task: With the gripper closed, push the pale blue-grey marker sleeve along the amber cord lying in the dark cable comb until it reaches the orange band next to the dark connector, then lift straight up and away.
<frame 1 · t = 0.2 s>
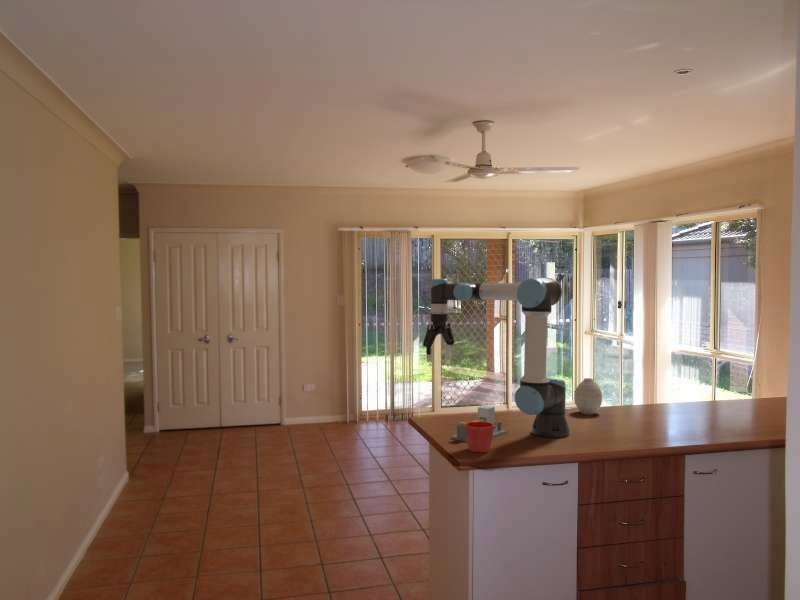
hand: (439, 360, 285), 28 cm above the worktop, fingers open, 13 cm apart
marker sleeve: (486, 416, 265), point 7 cm above the worktop, slide at 0.0 cm
flower pot: (479, 450, 238), on the worktop
cable comb: (479, 435, 260), on the worktop
vase: (587, 413, 305), on the worktop
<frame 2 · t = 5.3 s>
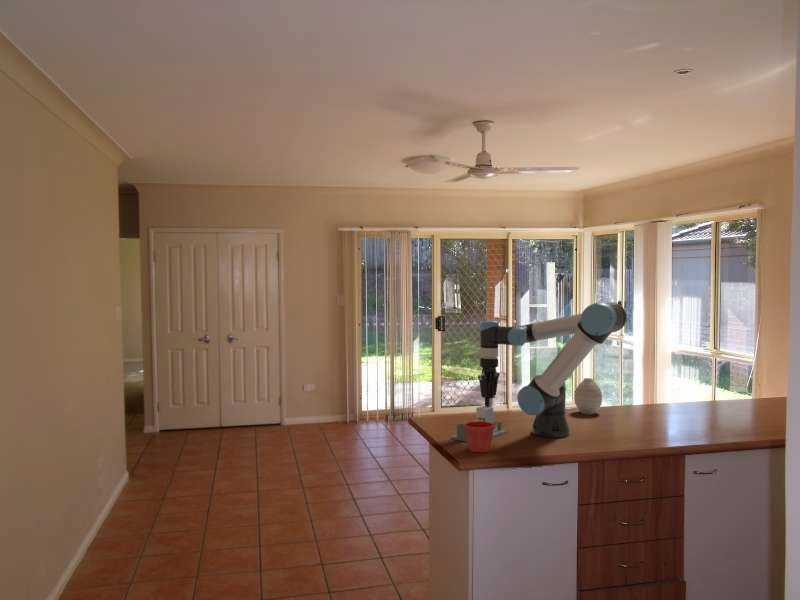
hand: (488, 413, 267), 8 cm above the worktop, fingers closed
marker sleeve: (484, 417, 264), point 7 cm above the worktop, slide at 1.1 cm, touching gripper
everything else where it was.
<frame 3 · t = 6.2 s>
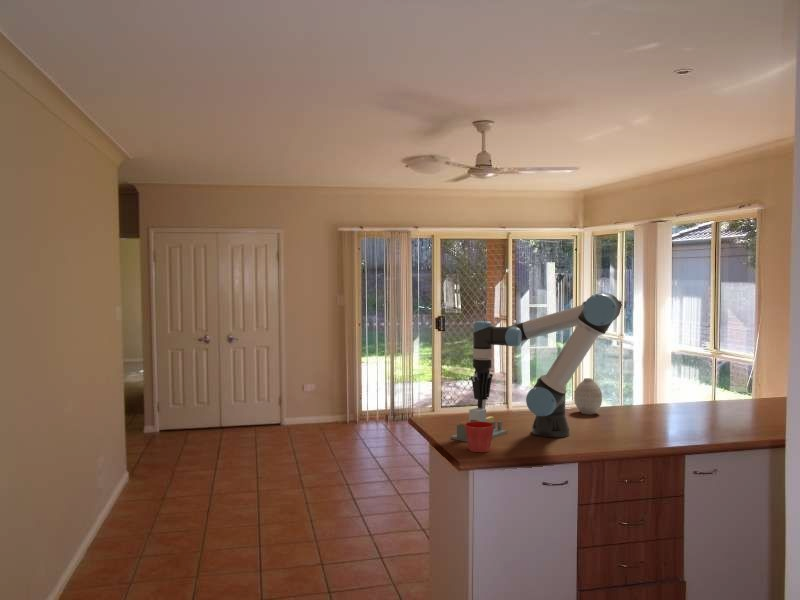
hand: (481, 415, 263), 8 cm above the worktop, fingers closed
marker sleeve: (477, 419, 260), point 7 cm above the worktop, slide at 6.4 cm, touching gripper
everything else where it was.
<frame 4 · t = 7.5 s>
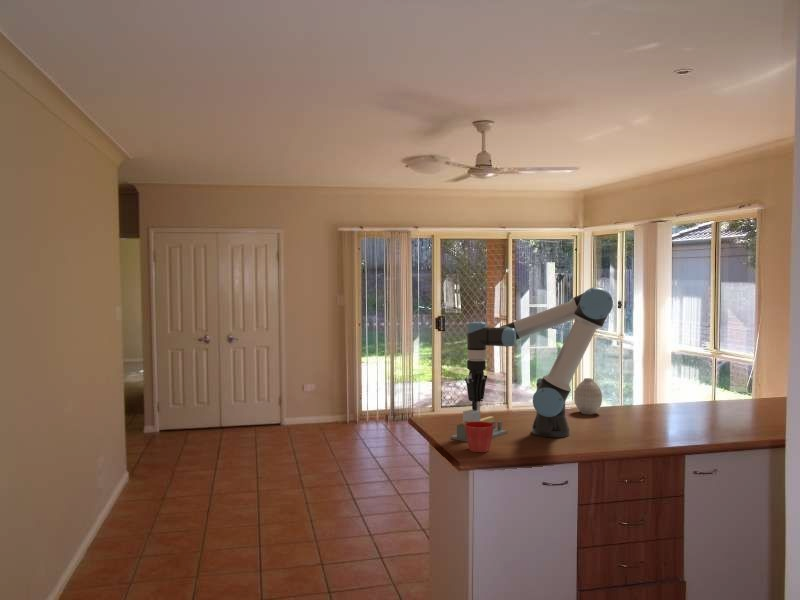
hand: (476, 417, 260), 8 cm above the worktop, fingers closed
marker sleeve: (471, 421, 257), point 7 cm above the worktop, slide at 10.7 cm, touching gripper
everything else where it was.
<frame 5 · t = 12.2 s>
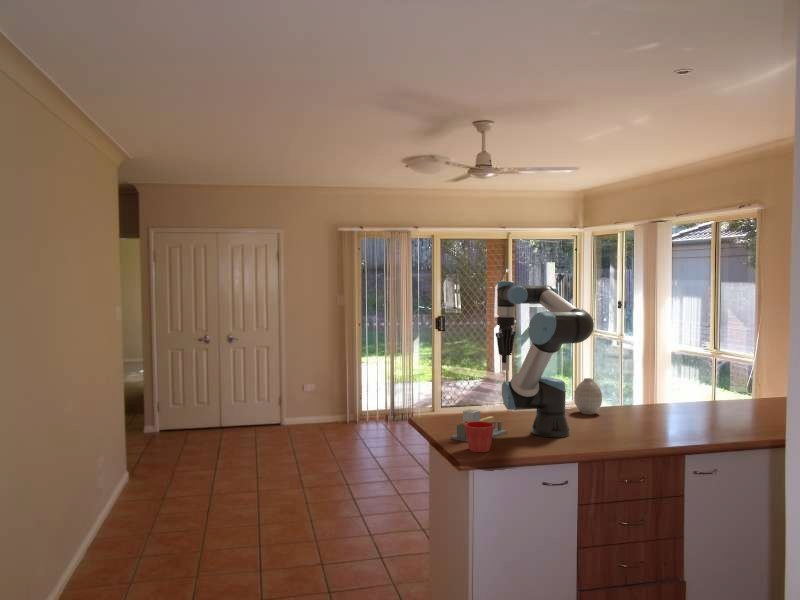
hand: (505, 370, 278), 24 cm above the worktop, fingers closed
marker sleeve: (471, 421, 257), point 7 cm above the worktop, slide at 10.7 cm
everything else where it was.
at the end: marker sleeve slide at 10.7 cm; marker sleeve touching nothing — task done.
